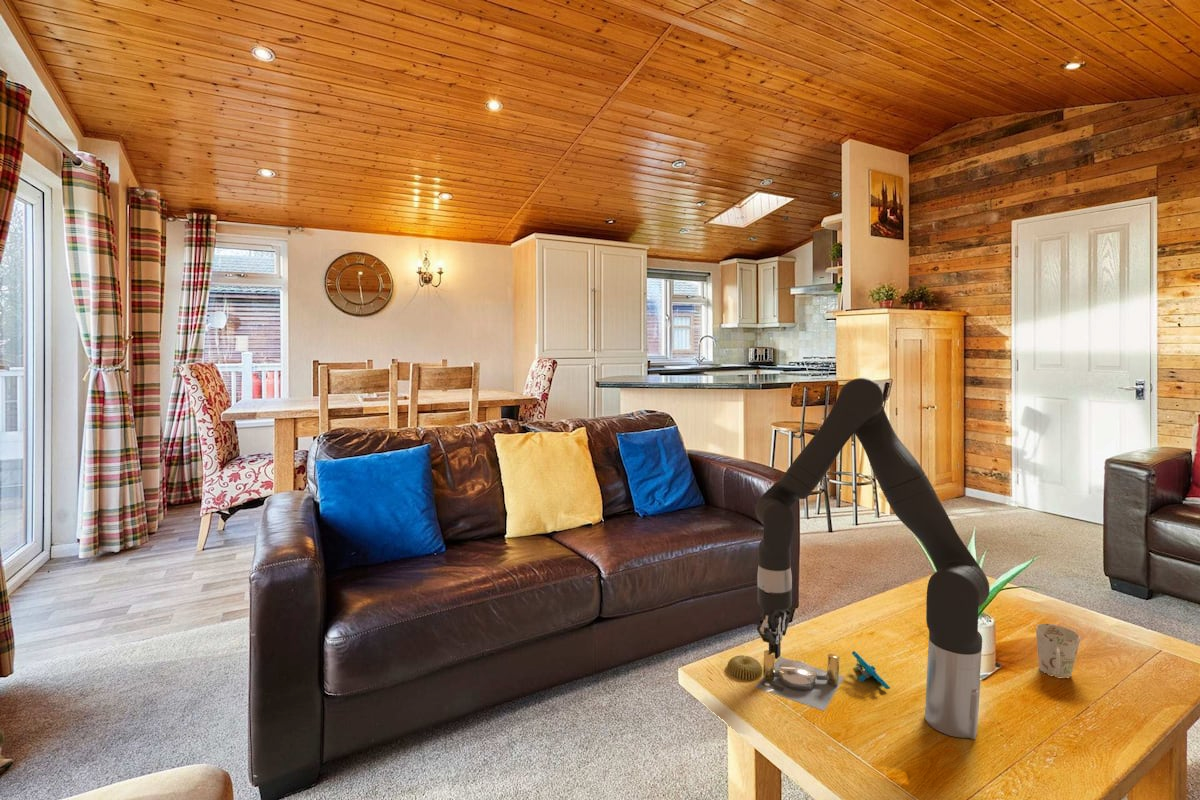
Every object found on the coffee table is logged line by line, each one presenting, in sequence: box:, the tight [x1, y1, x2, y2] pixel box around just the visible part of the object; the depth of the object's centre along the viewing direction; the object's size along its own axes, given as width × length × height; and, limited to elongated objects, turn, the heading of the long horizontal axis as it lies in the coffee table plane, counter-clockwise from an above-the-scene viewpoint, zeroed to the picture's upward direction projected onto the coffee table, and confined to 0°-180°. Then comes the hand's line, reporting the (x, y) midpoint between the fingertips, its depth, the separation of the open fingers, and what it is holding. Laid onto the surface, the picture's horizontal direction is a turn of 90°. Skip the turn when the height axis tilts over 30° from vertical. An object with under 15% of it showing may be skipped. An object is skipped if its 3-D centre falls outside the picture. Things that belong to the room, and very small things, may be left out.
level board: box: [755, 656, 845, 712], centre depth 136 cm, size 15×18×2 cm
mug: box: [1035, 623, 1081, 678], centre depth 141 cm, size 8×13×10 cm, turn 148°
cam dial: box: [762, 649, 840, 690], centre depth 136 cm, size 16×8×6 cm, turn 84°
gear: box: [851, 650, 890, 689], centre depth 137 cm, size 11×6×10 cm
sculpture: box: [726, 655, 763, 681], centre depth 141 cm, size 8×4×8 cm
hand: (774, 656), depth 139 cm, fingers closed
